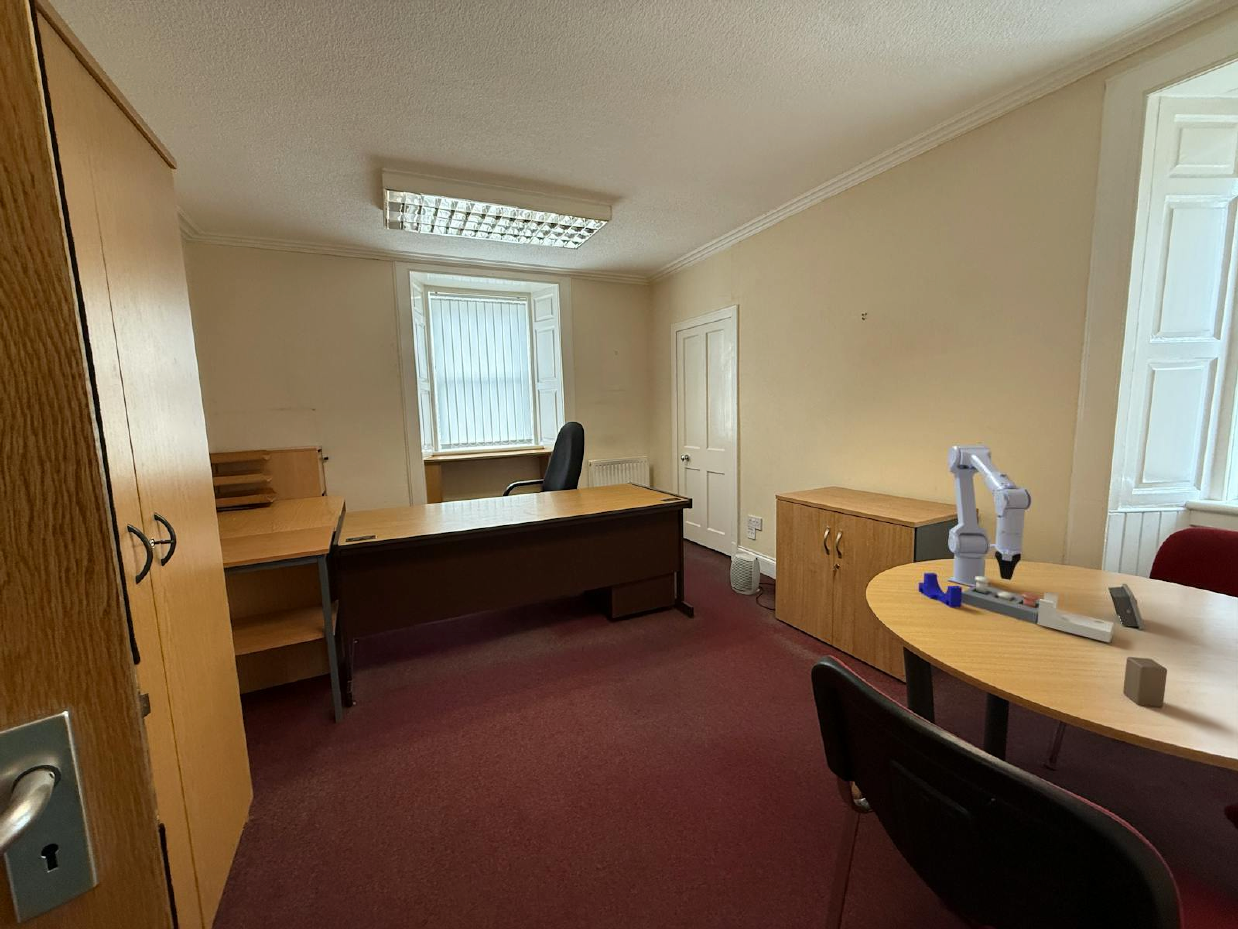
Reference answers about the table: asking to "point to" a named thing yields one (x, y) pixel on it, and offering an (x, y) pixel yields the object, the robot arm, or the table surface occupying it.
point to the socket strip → (1001, 604)
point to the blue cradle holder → (940, 591)
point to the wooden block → (1145, 681)
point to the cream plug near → (982, 583)
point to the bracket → (1072, 620)
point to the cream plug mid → (1005, 595)
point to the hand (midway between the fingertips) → (1005, 578)
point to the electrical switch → (1126, 606)
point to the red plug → (1029, 599)
